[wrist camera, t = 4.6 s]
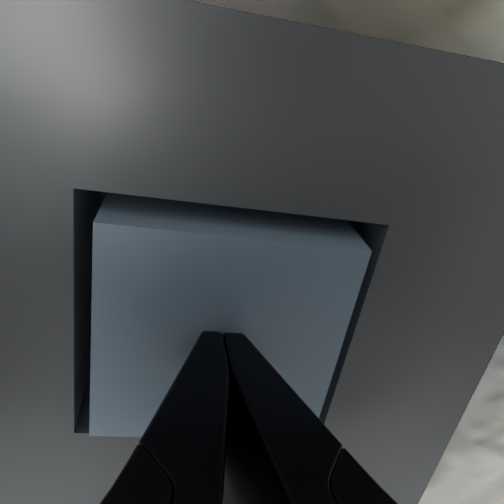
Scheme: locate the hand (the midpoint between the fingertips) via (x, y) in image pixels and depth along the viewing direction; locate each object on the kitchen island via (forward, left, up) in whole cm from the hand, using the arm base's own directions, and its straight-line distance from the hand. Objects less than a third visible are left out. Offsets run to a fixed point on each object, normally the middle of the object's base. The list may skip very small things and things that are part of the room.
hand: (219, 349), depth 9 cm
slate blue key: (0, 0, -3) cm, 3 cm away
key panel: (-9, 0, -4) cm, 10 cm away
